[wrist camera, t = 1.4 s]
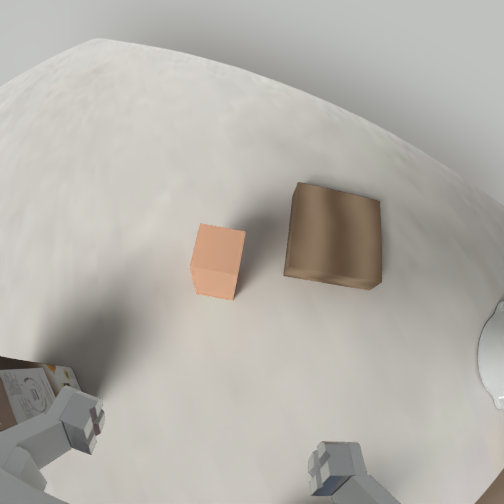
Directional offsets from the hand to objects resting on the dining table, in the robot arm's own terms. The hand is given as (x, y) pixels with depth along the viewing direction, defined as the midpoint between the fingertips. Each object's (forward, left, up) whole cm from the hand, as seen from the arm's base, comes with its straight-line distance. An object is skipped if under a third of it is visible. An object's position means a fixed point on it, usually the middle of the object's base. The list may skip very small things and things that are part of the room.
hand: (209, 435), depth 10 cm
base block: (-12, -22, -27) cm, 36 cm away
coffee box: (+20, +6, -26) cm, 34 cm away
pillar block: (+2, -14, -26) cm, 30 cm away
